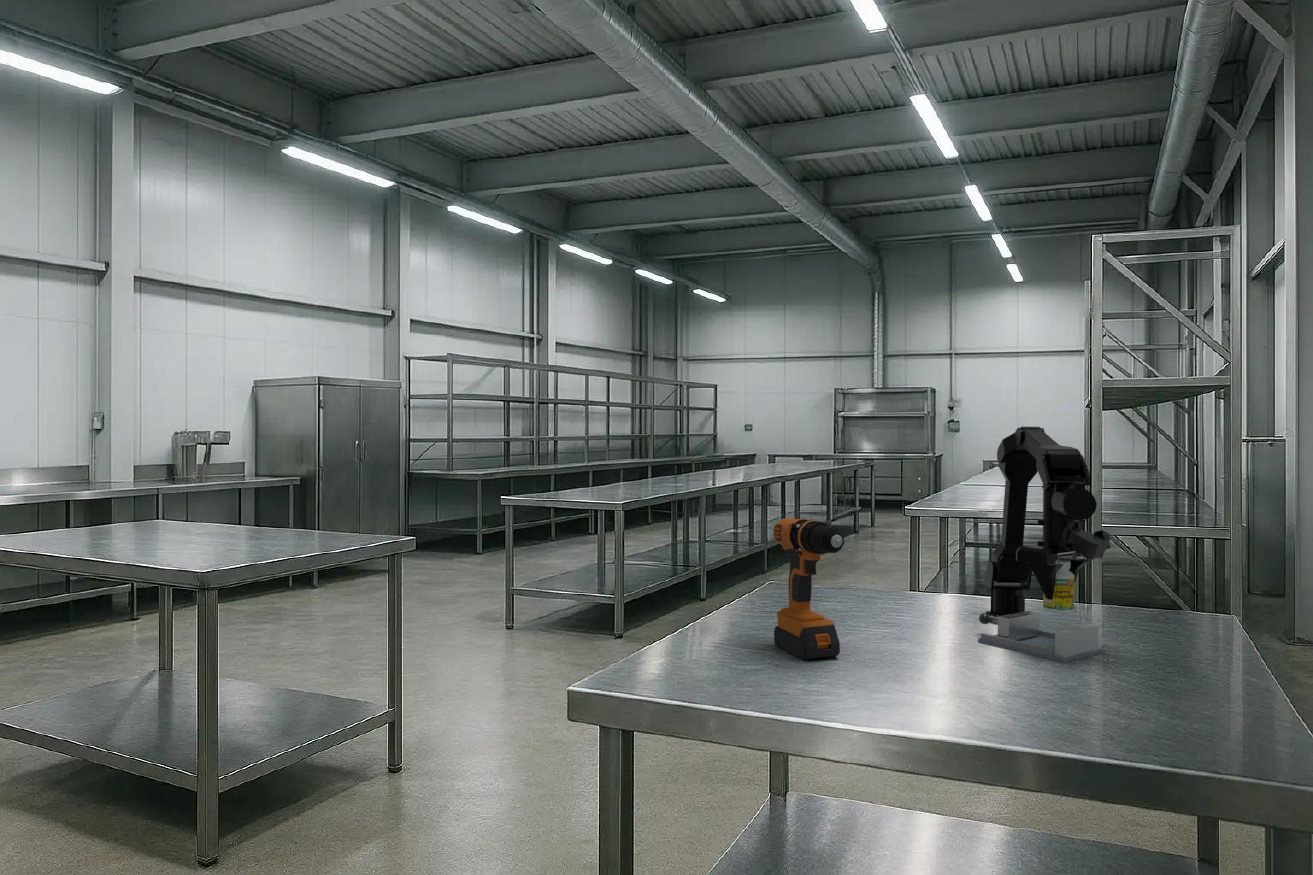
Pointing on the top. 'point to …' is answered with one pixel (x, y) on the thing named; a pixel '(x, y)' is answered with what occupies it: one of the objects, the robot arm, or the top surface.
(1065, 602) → the supplement bottle
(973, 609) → the top surface
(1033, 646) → the vise base
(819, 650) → the power drill
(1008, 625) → the sliding jaw
